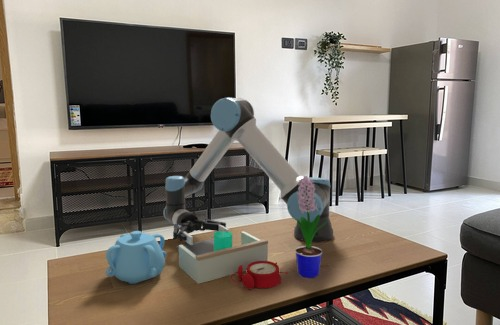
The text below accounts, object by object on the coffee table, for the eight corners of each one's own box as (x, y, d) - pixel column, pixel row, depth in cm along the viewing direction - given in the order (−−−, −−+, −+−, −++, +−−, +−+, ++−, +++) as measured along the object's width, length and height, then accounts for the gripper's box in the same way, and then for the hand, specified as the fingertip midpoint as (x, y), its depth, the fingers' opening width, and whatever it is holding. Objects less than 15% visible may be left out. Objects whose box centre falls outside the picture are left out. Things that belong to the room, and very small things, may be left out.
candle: (210, 265, 120) (209, 229, 118) (223, 260, 125) (223, 225, 123) (223, 271, 116) (222, 233, 114) (236, 265, 121) (236, 229, 119)
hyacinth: (319, 284, 107) (321, 181, 103) (288, 274, 114) (289, 176, 109) (332, 273, 114) (335, 176, 110) (302, 264, 120) (304, 172, 116)
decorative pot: (172, 265, 121) (171, 224, 119) (154, 289, 105) (152, 242, 103) (124, 263, 123) (122, 223, 121) (99, 286, 107) (96, 240, 105)
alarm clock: (291, 272, 107) (241, 269, 101) (286, 294, 107) (236, 292, 102) (275, 258, 117) (229, 254, 111) (271, 278, 117) (225, 275, 111)
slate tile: (211, 240, 142) (211, 238, 142) (230, 252, 131) (230, 250, 131) (176, 248, 135) (176, 246, 135) (192, 261, 123) (192, 259, 123)
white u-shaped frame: (244, 250, 133) (244, 228, 132) (267, 264, 121) (268, 240, 120) (179, 266, 120) (178, 242, 119) (198, 284, 108) (197, 257, 107)
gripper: (214, 225, 151) (242, 240, 133) (154, 236, 138) (175, 255, 120) (214, 206, 150) (242, 220, 132) (153, 216, 137) (175, 233, 119)
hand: (210, 237), depth 126 cm, fingers open, 13 cm apart
